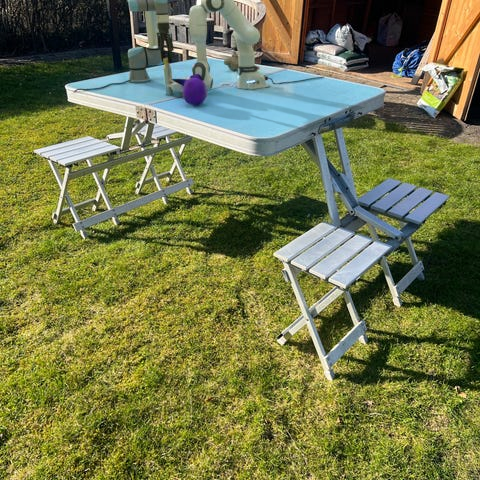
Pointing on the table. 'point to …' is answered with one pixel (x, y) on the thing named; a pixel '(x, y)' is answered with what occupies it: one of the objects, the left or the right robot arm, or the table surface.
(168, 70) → the bottle
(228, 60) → the teapot
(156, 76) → the table surface
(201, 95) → the toy
